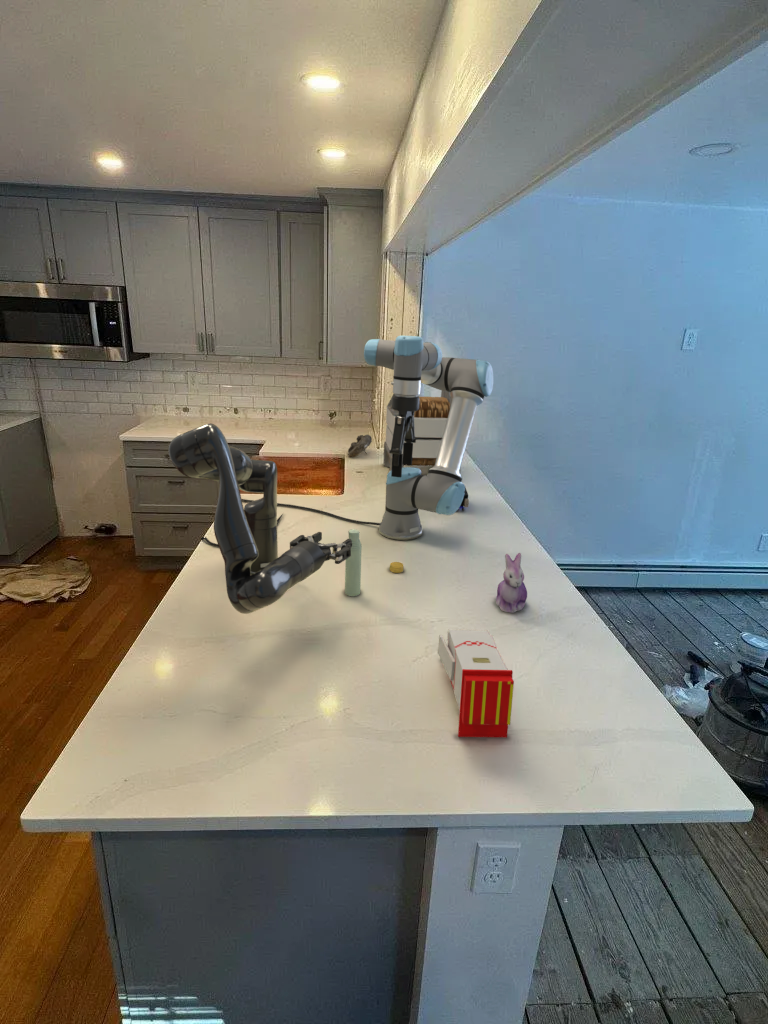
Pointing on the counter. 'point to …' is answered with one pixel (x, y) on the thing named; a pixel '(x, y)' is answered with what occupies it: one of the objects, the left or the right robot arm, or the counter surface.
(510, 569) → the figurine
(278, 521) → the feather
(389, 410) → the transformer
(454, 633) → the toy
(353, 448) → the fossil
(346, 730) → the counter surface
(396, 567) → the cap
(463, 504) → the figurine character
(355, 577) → the bottle
